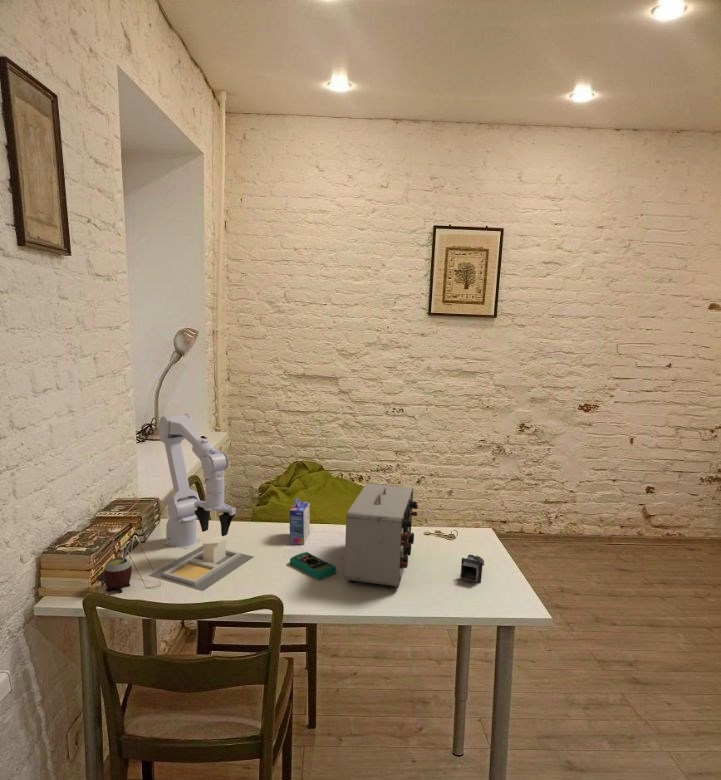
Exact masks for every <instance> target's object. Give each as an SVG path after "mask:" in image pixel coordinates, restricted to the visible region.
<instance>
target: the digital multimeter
mask: <svg viewBox="0 0 721 780" xmlns="http://www.w3.org/2000/svg"><path fill="white" fill-rule="evenodd" d="M289 564H290V565H291V566H293V567H294V568H297V569H298V570H300V571H303V572H304V573H306V574H307V575H310V576H312V577H313V578H314V579H317V580H322V579H326V578H328V577H331V576H332V575H334V574H336V572H337V571H336V570H337V567H336V566H335V565H334V564H332V563H330V562H327V561H325V560H323V559H322V558H319V557H317V556H315V555H314V554H311V553H310V552H308V551H305V552H301V553H298V554H295V555H294V556H291V557H290V559H289Z"/></svg>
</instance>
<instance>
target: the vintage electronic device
mask: <svg viewBox="0 0 721 780" xmlns="http://www.w3.org/2000/svg"><path fill="white" fill-rule="evenodd" d="M413 500H414V487H407V486H399V485H397V486H396V485H387V484H376V483H365V485H364V486H363V488H362V489H361V491H360V492H359V494H358V495H357V496H356V498H355V500H354V501H353V503H352V504H351V505H350V508H348V510H347V512H346V518H345V541H344V542H345V545H344V547H345V548H344V569H343V571H344V572H343V574H344V576H343V579H344V580H346V581H348V582H349V583H352V584H355V583H357V582H360V583H368V584H374V585H375V584H377V585H385V586H387V587H388V588H389V589H395V588H396V587H400V584H401V580H402V577H403V573H404V569H407V568H408V563H409V556H411V554H412V545H414V544H415V543H414V541H415V532H412V521H413V519H412V517H418V512H417V511H414V510H418V501H415V500H414V501H413ZM413 509H414V510H413Z"/></svg>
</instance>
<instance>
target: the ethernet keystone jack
mask: <svg viewBox="0 0 721 780" xmlns="http://www.w3.org/2000/svg"><path fill="white" fill-rule="evenodd" d="M483 566H485V560H484V559H483V558H482V557H480V556H479V555H473V554H468V555H467V557H466V558H465V557H461V565H460V579H461V580H464V581H469V582H475V583H482V575H483V574H482V573H483Z"/></svg>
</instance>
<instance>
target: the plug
mask: <svg viewBox="0 0 721 780" xmlns="http://www.w3.org/2000/svg"><path fill="white" fill-rule="evenodd" d="M202 546H203V561H207V562H211V563H214V564H215V563H216V562H218V561H220V560H221V559H223V558H225V557H226V548H227V538H223V537H220V536H214V537H212V538H210V539H209V540H207V541H205V542H203V544H202Z"/></svg>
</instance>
